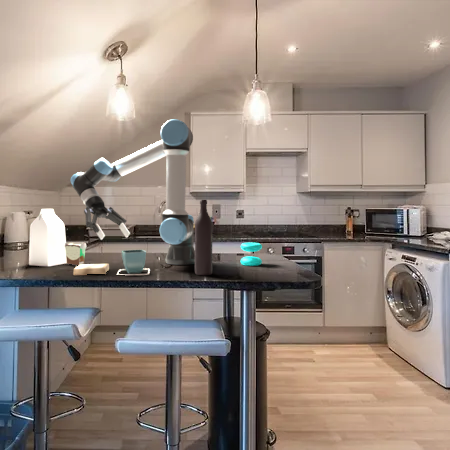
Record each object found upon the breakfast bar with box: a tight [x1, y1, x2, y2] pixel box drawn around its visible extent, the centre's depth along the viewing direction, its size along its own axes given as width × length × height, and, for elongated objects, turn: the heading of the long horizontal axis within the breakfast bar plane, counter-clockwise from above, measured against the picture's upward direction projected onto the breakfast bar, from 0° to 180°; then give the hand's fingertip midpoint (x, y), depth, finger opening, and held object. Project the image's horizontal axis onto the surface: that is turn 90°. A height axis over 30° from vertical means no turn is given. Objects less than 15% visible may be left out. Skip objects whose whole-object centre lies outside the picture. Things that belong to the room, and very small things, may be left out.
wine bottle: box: [194, 199, 213, 276], centre depth 154 cm, size 7×7×30 cm
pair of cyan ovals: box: [240, 242, 263, 267], centre depth 179 cm, size 10×10×10 cm
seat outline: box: [115, 268, 151, 276], centre depth 158 cm, size 13×13×1 cm
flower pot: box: [121, 249, 147, 274], centre depth 157 cm, size 9×9×9 cm
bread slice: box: [73, 263, 110, 276], centre depth 158 cm, size 12×12×3 cm
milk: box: [28, 208, 67, 267], centre depth 179 cm, size 12×12×26 cm
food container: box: [64, 241, 87, 266], centre depth 179 cm, size 12×6×10 cm, turn 58°
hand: (116, 236), depth 162 cm, fingers open, 13 cm apart
